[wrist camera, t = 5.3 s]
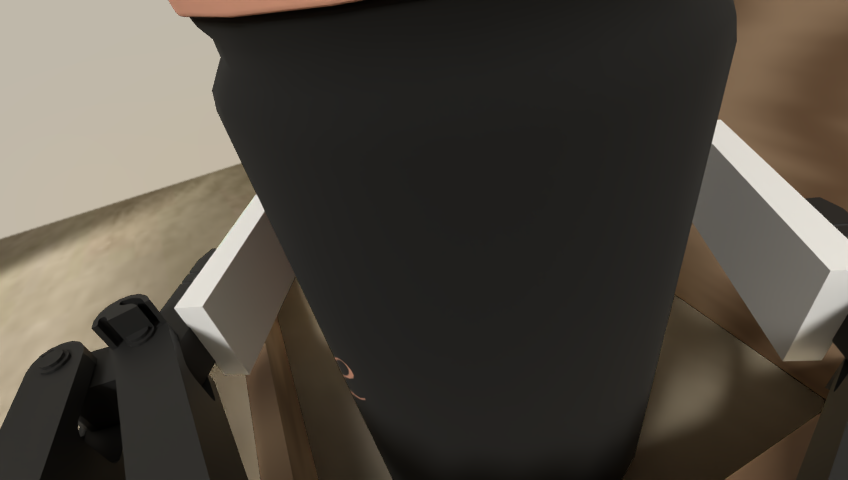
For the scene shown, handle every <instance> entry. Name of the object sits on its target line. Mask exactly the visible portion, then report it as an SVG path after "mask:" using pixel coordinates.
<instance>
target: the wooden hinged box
mask: <svg viewBox="0 0 848 480" xmlns="http://www.w3.org/2000/svg"><path fill="white" fill-rule="evenodd" d="M734 5H735V9H736V14H737V43H736V47H735V51H734V55H733V59H732V63H731V67H730V71H729V75H728V79H727V83H726V87H725V91H724V96H723V100H722V104H721V108H720V112H719V116H718V120H722V121H723V122H724V123H725V124H726V125H727V126H728V127H729V128H730V129H731V130H732V131H733V132H734V133H736V134H737V135H738V136H739V137H740V138H741V139H742V140H743V141H744V142H745V143H746V144H747V145H748V146H749V147H750V148H751V149H753V150H754V151H755V152H756V153H757V154H758V155H759V156H760V157H761V158H762V159H763V160H764V161H765V162H766V163H767V164H768V165H770V166H771V167H772V168H773V169H774V170H775V171H776V172H777V173H778V174H779V175H780V176H781V177H782V178H783V179H784V180H785V181H787V182H788V183H789V184H790V185H791V186H792V187H793V188H794V189H795V190H796V191H797V192H798V193H799V194H800V195H801V196H802V197H804V198H815V197H821V198H823V199H825V200H827V201H829V202H831V203H833V204H835V205H837V206H839V207H842V208H843V209H845V210H846V211H847V212H848V0H734ZM675 295H676V296H678V297H679V298H681V299H682V300H684V301H685V302H687V303H688V304H689V305H691V306H692V307H694V308H695V309H697V310H698V311H699V312H701V313H702V314H704V315H705V316H707V317H708V318H709V319H711V320H712V321H714V322H715V323H717V324H718V325H719V326H721V327H722V328H724V329H725V330H727V331H728V332H730V333H731V334H732V335H734V336H735V337H737V338H738V339H740V340H741V341H742V342H744V343H745V344H747V345H748V346H750V347H751V348H752V349H754V350H755V351H757V352H758V353H760V354H761V355H762V356H764V357H765V358H767V359H768V360H770V361H771V362H773V363H774V364H775V365H777V366H778V367H780V368H781V369H783V370H784V371H785V372H787V373H788V374H790V375H791V376H793V377H794V378H795V379H797V380H798V381H800V382H801V383H803V384H804V385H805V386H807V387H808V388H810V389H811V390H813V391H814V392H816V393H817V394H818V395H820V396H821V397H823V398H824V399H827V396H828V393H829V391H830V390H829V389H826V388H825V387H826V385H827V384H828V382H829V381H830V379H831V378H832V376H833V374H834V373H835V371H836V370H837V368H838V367H839V365H840V364H841V362H842V361H843V359H844V358H845V357H844V356H843V354H842V353H841V352H840V351H839V349H838V348H837V347H836V346H835V344H834V343H832V345H831V346H830V348H829V349H828V351H827V353H826V354H825V356H824V358H823V359H822V360H816V361H782V359H781V358H780V356H779V355H778V353H777V352H776V350H775V349H774V347H773V346H772V344H771V343H770V341H769V339H768V338H767V336H766V335H765V333H764V332H763V330H762V329H761V327H760V326H759V324H758V323H757V321H756V319H755V318H754V316H753V315H752V313H751V312H750V310H749V309H748V307H747V306H746V304H745V303H744V301H743V299H742V298H741V296H740V295H739V293H738V292H737V290H736V289H735V287H734V286H733V284H732V283H731V281H730V279H729V278H728V276H727V275H726V273H725V272H724V270H723V269H722V267H721V266H720V264H719V263H718V261H717V260H716V258H715V256H714V255H713V253H712V252H711V250H710V249H709V247H708V246H707V244H706V243H705V241H704V240H703V238H702V236H701V235H700V233H699V232H698V230H697V229H696V227H695V226H694V224H693V223H692V225H691V229H690V233H689V237H688V241H687V246H686V250H685V254H684V258H683V262H682V266H681V270H680V274H679V278H678V282H677V286H676V290H675ZM246 381H247V388H248V395H249V402H250V409H251V416H252V423H253V430H254V437H255V444H256V451H257V458H258V465H259V472H260V479H261V480H319V479H318V475H317V471H316V467H315V464H314V460H313V456H312V452H311V448H310V444H309V440H308V436H307V432H306V428H305V424H304V420H303V416H302V412H301V408H300V404H299V400H298V396H297V392H296V388H295V385H294V381H293V377H292V373H291V369H290V365H289V361H288V357H287V353H286V349H285V345H284V341H283V337H282V333H281V329H280V325H279V321H278V317H276V319H275V321H274V323H273V326H272V328H271V330H270V332H269V334H268V336H267V338H266V341H265V343H264V345H263V347H262V349H261V351H260V354H259V356H258V358H257V360H256V362H255V364H254V366H253V369H252V371H251V373H250V375H246ZM820 414H821V413H819V414H818V415H816V416H815V417H813V418H812V419H810V420H809V421H808V422H806V423H805V424H803V425H802V426H800V427H799V428H798V429H796V430H795V431H793V432H792V433H790V434H789V435H788V436H786V437H785V438H783V439H782V440H780V441H779V442H778V443H776V444H775V445H773V446H772V447H770V448H769V449H768V450H766V451H765V452H763V453H762V454H760V455H759V456H758V457H756V458H755V459H753V460H752V461H750V462H749V463H747V464H746V465H745V466H743V467H742V468H740V469H739V470H737V471H736V472H735V473H733V474H732V475H730V476H729V477H727V478H726V479H725V480H796V478H797V475H798V473H799V470H800V467H801V465H802V462H803V459H804V457H805V454H806V451H807V449H808V446H809V443H810V441H811V438H812V436H813V433H814V430H815V428H816V425H817V422H818V420H819V417H820Z"/></svg>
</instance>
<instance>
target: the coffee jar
mask: <svg viewBox="0 0 848 480" xmlns="http://www.w3.org/2000/svg"><path fill="white" fill-rule="evenodd" d="M169 2H170V4H171V5H172V7H173V9H174V10H175V12H176V13H177V14H178V15H179V16H183V17H190V18H191V20H192V21H193V22H194V23H195V25H196V26H197V27H198V28H199V29H201V30H202V31H203V32H204V33H206V34H207V35H208V36H210V37H211V38H212V39H213V41H214V43H215V45H216V48H217V50H218V52H219V54H220V57H221V58H220V62H219V66H218V69H217V73H216V77H215V81H214V85H213V89H212V92H213V96H214V100H215V105H216V109H217V112H218V114H219V116H220V118H221V121H222V123H223V125H224V127H225V129H226V131H227V133H228V135H229V137H230V139H231V142H232V143H233V146H234V148H235V150H236V152H237V154H238V156H239V158H240V160H241V162H242V165H243V167H244V169H245V171H246V173H247V175H248V177H249V179H250V181H251V183H252V186H253V188H254V190H255V192H256V194H257V196H258V198H259V200H260V202H261V204H262V207H263V209H264V211H265V213H266V215H267V217H268V219H269V221H270V223H271V225H272V228H273V230H274V232H275V234H276V236H277V238H278V240H279V242H280V244H281V246H282V248H283V251H284V253H285V255H286V257H287V259H288V261H289V263H290V265H291V267H292V269H293V272H294V274H295V276H296V278H297V280H298V282H299V284H300V286H301V288H302V290H303V293H304V295H305V297H306V299H307V301H308V303H309V305H310V307H311V309H312V311H313V314H314V316H315V318H316V320H317V322H318V324H319V326H320V328H321V330H322V332H323V335H324V337H325V339H326V341H327V343H328V345H329V347H330V349H331V351H332V353H333V355H334V358H335V360H336V362H337V364H338V366H339V368H340V370H341V372H342V374H343V376H344V379H345V381H346V383H347V385H348V387H349V389H350V391H351V393H352V395H353V397H354V400H355V402H356V404H357V406H358V408H359V410H360V412H361V414H362V416H363V418H364V421H365V423H366V425H367V427H368V429H369V431H370V433H371V435H372V437H373V439H374V441H375V444H376V446H377V448H378V450H379V452H380V454H381V456H382V458H383V460H384V462H385V464H386V466H387V469H388V471H389V473H390V475H391V477H392V479H393V480H622V478H623V477H624V475H625V473H626V471H627V469H628V467H629V466H630V464H631V462H632V460H633V458H634V456H635V452H636V448H637V444H638V440H639V436H640V432H641V428H642V424H643V420H644V416H645V412H646V408H647V404H648V400H649V396H650V391H651V387H652V383H653V379H654V375H655V371H656V367H657V363H658V359H659V355H660V351H661V347H662V343H663V339H664V335H665V331H666V327H667V323H668V318H669V314H670V310H671V306H672V302H673V298H674V294H675V290H676V286H677V282H678V278H679V274H680V270H681V266H682V262H683V258H684V254H685V250H686V246H687V241H688V237H689V233H690V229H691V225H692V221H693V217H694V213H695V209H696V205H697V201H698V197H699V193H700V189H701V185H702V181H703V177H704V173H705V168H706V164H707V160H708V156H709V152H710V148H711V144H712V140H713V136H714V132H715V128H716V124H717V120H718V116H719V112H720V108H721V104H722V100H723V96H724V91H725V87H726V83H727V79H728V75H729V71H730V67H731V63H732V59H733V55H734V51H735V47H736V43H737V14H736V9H735V5H734V0H169Z"/></svg>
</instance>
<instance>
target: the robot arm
mask: <svg viewBox="0 0 848 480" xmlns="http://www.w3.org/2000/svg"><path fill="white" fill-rule="evenodd" d="M692 223H693V224H694V226H695V227H696V229H697V230H698V232H699V233H700V235H701V236H702V238H703V240H704V241H705V243H706V244H707V246H708V247H709V249H710V250H711V252H712V253H713V255H714V256H715V258H716V260H717V261H718V263H719V264H720V266H721V267H722V269H723V270H724V272H725V273H726V275H727V276H728V278H729V279H730V281H731V283H732V284H733V286H734V287H735V289H736V290H737V292H738V293H739V295H740V296H741V298H742V299H743V301H744V303H745V304H746V306H747V307H748V309H749V310H750V312H751V313H752V315H753V316H754V318H755V319H756V321H757V323H758V324H759V326H760V327H761V329H762V330H763V332H764V333H765V335H766V336H767V338H768V339H769V341H770V343H771V344H772V346H773V347H774V349H775V350H776V352H777V353H778V355H779V356H780V358H781V359H782V361H816V360H822V359H823V358H824V356H825V354H826V353H827V351H828V349H829V348H830V346H831V345H832V343H834V344H835V346H836V347H837V348H838V349H839V351H840V352H841V353H842V354H843V356H844V357H845V358H844V359H843V361H842V362H841V364H840V365H839V367H838V368H837V370H836V371H835V373H834V374H833V376H832V378H831V379H830V381H829V382H828V384H827V385H826V387H825V388H826V389H829V390H830V391H829V393H828V396H827V399H826V401H825V404H824V406H823V409H822V412H821V414H820V417H819V420H818V422H817V425H816V428H815V430H814V433H813V436H812V438H811V441H810V443H809V446H808V449H807V451H806V454H805V457H804V459H803V462H802V465H801V467H800V470H799V473H798V475H797V478H796V480H848V212H847V211H846V210H845V209H843V208H842V207H839V206H837V205H835V204H833V203H831V202H829V201H827V200H825V199H823V198H821V197H815V198H804V197H802V196H801V195H800V194H799V193H798V192H797V191H796V190H795V189H794V188H793V187H792V186H791V185H790V184H789V183H788V182H787V181H785V180H784V179H783V178H782V177H781V176H780V175H779V174H778V173H777V172H776V171H775V170H774V169H773V168H772V167H771V166H770V165H768V164H767V163H766V162H765V161H764V160H763V159H762V158H761V157H760V156H759V155H758V154H757V153H756V152H755V151H754V150H753V149H751V148H750V147H749V146H748V145H747V144H746V143H745V142H744V141H743V140H742V139H741V138H740V137H739V136H738V135H737V134H736V133H734V132H733V131H732V130H731V129H730V128H729V127H728V126H727V125H726V124H725V123H724V122H723V121H722V120H717V124H716V128H715V132H714V136H713V140H712V144H711V148H710V152H709V156H708V160H707V164H706V168H705V173H704V177H703V181H702V185H701V189H700V193H699V197H698V201H697V205H696V209H695V213H694V217H693V221H692ZM294 278H295V274H294V272H293V269H292V267H291V265H290V263H289V261H288V259H287V257H286V255H285V253H284V251H283V248H282V246H281V244H280V242H279V240H278V238H277V236H276V234H275V232H274V230H273V228H272V225H271V223H270V221H269V219H268V217H267V215H266V213H265V211H264V209H263V207H262V204H261V202H260V200H259V198H258V196H257V194H256V195H255V196H254V198H253V199H252V200H251V202H250V203H249V205H248V206H247V207H246V209H245V210H244V211H243V213H242V214H241V216H240V217H239V218H238V220H237V221H236V223H235V224H234V225H233V227H232V228H231V230H230V231H229V232H228V234H227V235H226V237H225V238H224V239H223V241H222V242H221V244H220V245H219V246H218V248H215V249H211V250H210V251H209V252H208V253H207V254H205V255H204V256H203V257H202V258H200V259H199V260H198V261H197V263H196V264H195V265H194V267H193V268H192V269H191V271H190V274H188V275H187V276H186V277H185V279H184V280H183V281H182V284H180V285H179V287H178V288H177V290H176V291H175V292H174V294H173V295H172V296H171V298H170V299H169V300H168V302H167V303H166V304H165V306H164V307H163V308H162V310H161V311H160V312H159V311H158V310H157V308H156V307H155V306H154V305H153V303H152V302H151V301H150V300H149V298H148V297H147V296H146V295H142V294H136V295H130V296H127V297H125V298H122V299H119V300H118V301H116V302H114V303H113V304H111V305H109V306H108V307H107V308H105V309H104V310H103V311H102V312H101V313H100V314H99V315H98V316H97V317H96V319H95V320H94V322H93V325H92V329H93V330H94V331H95V332H96V334H97V335H98V336H99V337H100V338H101V339H102V340H103V341H104V342H105V343H106V344H107V345H108V346H109V347H106V348H103V349H99V350H96V351H93V352H90V351H89V350H88V349H87V348H86V347H85V346H84V345H83V344H82V343H81V342H77V341H71V342H67V343H63V344H60V345H58V346H56V347H54V348H51V349H50V350H48V351H47V352H45V353H44V354H42V355H41V356H40V357H39V358H38V359H37V360H36V361H35V362H34V363H33V364H32V365H31V366H30V368H29V369H28V371H27V372H26V374H25V376H24V378H23V381H22V383H21V385H20V387H19V389H18V392H17V394H16V396H15V398H14V400H13V403H12V405H11V407H10V409H9V411H8V413H7V416H6V418H5V420H4V422H3V424H2V427H1V429H0V480H248V478H247V475H246V472H245V469H244V466H243V463H242V461H241V458H240V455H239V452H238V449H237V446H236V443H235V440H234V437H233V435H232V432H231V429H230V426H229V423H228V420H227V417H226V414H225V411H224V409H223V406H222V403H221V400H220V397H219V394H218V391H217V388H216V385H215V383H214V381H213V379H212V378H211V377H210V376H209V373H210V371H211V369H212V367H213V365H214V363H216V365H217V366H218V367H219V369H220V370H221V371H222V373H223V374H224V375H225V376H227V375H250V373H251V371H252V369H253V366H254V364H255V362H256V360H257V358H258V356H259V354H260V351H261V349H262V347H263V345H264V343H265V341H266V338H267V336H268V334H269V332H270V330H271V328H272V326H273V323H274V321H275V319H276V317H277V315H278V313H279V310H280V308H281V306H282V304H283V302H284V300H285V298H286V295H287V293H288V291H289V289H290V287H291V285H292V282H293V280H294ZM78 425H79V426H80V428H79V430H78Z"/></svg>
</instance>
